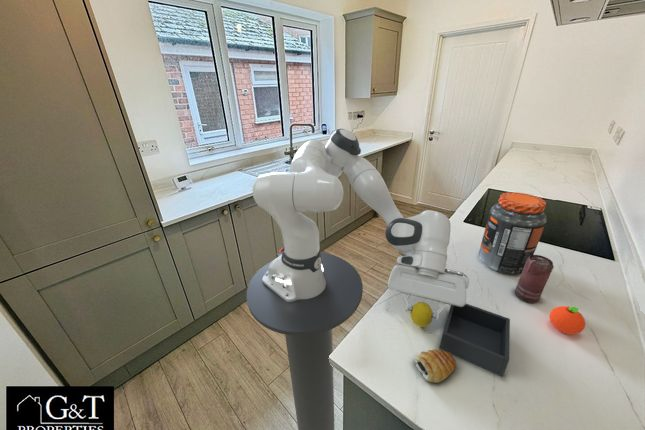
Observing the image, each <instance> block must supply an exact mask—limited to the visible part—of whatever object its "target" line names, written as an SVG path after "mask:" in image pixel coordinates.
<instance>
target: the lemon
mask: <svg viewBox="0 0 645 430" xmlns="http://www.w3.org/2000/svg"><path fill="white" fill-rule="evenodd" d="M432 313H433V310H432V308H431V306H430V305H429V304H428V303H426V302H425V301H424V302H423V301H418V302H416V303H414V304H413V305H412V308H411V312H410V319H411V321H412V323H413V324H414V325H415V326H416V327H419V328H425V327H428V326H429V325H430V324H431V322H432V320H433V318H432V315H433V314H432Z"/></svg>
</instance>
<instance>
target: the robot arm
mask: <svg viewBox="0 0 645 430" xmlns="http://www.w3.org/2000/svg"><path fill="white" fill-rule="evenodd" d="M361 154H362V149H361V147H360V142H359V140H358V137H357V136H356V135H355V134H354V133H353V132H351V131H350V130H348V129H344V128H336V130H334V131H333V133H332V134H331V135H330V138H329V139H328V141H327V143H326V144H324V143H322V141H320V140H317V139H310V140H308V141H306V142H304V143H303V144H302V145H301V146H300V147H299V148H298V150H297V151H296V153H295V155H294V156H293V158H292V161H291V162H290V165H289V172H285V171H284V172H283V171H281V172H280V171H279V172H278V171H276V172H275V171H274V172H270V173H264V174H260V175H259V176H258V177H257V178H256V179H255V180H254V183H253V185H252V196H253V197H252V198H253V200H254V202H255V203H256V206H258V207H259V208H261V209H262V210H264V211H265V212H267V213H268V215H270V216H271V217H272V218H273V220H274V221H275V223H276V224H277V225H278V227H279V230H280V233H281V236H282V241H283V246H282V248H280V249H279V250H278V251H277V252H278V253H276V258H275V259H273V260H271V261H272V262H271V261H270V262H271V264H270V265H269V268H268V271H267V272H266V273H265V274H264V276H263V278H262V282H263V283H264V284H265V285H267V286H268V287H269V288H270V289H272V290H273V291H274V292H275V293H277V294H278V295H279V296H280V297H282V298H283V299H284V300H285V301H287V302H292V301H295V300H300V299H310V298H313V297H316V296H318V295H319V294H321V293H322V292H323V290H324V289H325V287H326V280H325V277H324V274H323V267H322V264H321V260H322V256H321V252H322V246H321V245H320V244H321V243H320V230H319V229H320V228H319V226H318V225H317V223H316V222H315V221H314V220H313V219H312V218H311V217H308V216H306V215H305V214H304V213H325V212H330V211H331V212H332V211H336V210H337V209H338V208H339V207H340V205H341V204H342V203H343V199H344V196H345V195H344V194H345V193H344V186H343V184H342V181H341V180H340V177H341V176H342V174H343V173H344V174H345V175H346V177H347V179H348V181H349V184H350V186H351V188H352V189H353V191H354V193H355V194H356V195H357V196H358V197H359V198H360V199H361V200H362V201H363V202H364V203H365V204H366V205H367V206H369V207H370V208H371V209H372V210H373V211H375V212H376V213H377V214H378V215H379V216H380V217H381V218H382V220H384V222H385V223H386V225H387V226H386V228H385V231H384V232H385V234H384V235H385V239H386V241H387V242H388V243H389V244H390V245H391V246H392V247H393V248H394V249H395V250H396V251H397V252H398V253H399V254H400V256H398V257H397V258H396V265H394V266H393V267H392V269H391V271H390V274H389V277H388V281H387V288H388V289H389V290H390V291H393V292H398V293H401V294H403V299H404V302H405V305H406V306H405V312H407V313H408V312H409V313H411V309H412V307H413V305H411V304H410V303H409V301H408V299H410V296H414V297H418V298H422V299H425V300H430V301H434V302H438V305H437V306H438V307H439V308H438V309H437V310H436V311H434V310H432V320H437V321H438V320H439V317H440V313H442V311H443V310H444V309H445V307H446V305H449V306H451V305H453V306H457V307H463V306H465V305H466V304H467V290H468V288H469V285H470V279H469V277H468V275H466V274H465V273H464V272H462V271H456V270H454V269H449V268H447V262H448V253H447V252H448V247H449V245H450V241H451V221H450V219H449V217H448V216H447V215H446V214H444V213H443V212H441V211H438V210H435V209H426V210H423V211H422V212H421V213H419V214H416V215H413V216H409V217H404V216H403V214H402V213H401V212H400V210H399V209H398V207H397V205H396V203H395V202H394V200H393V197H392V195H391V192H390V190H389V188H388V186H387V184H386V182H385V180H384V178H383V176H382V174H380V172H379V171H378V170H377V168H376V167H375V166H374V165H373V164H372V163H371V162H370V160H368V159H366V158H365V157H363V156H362V157H361V156H360V155H361ZM287 296H288V297H287Z"/></svg>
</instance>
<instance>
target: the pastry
mask: <svg viewBox="0 0 645 430" xmlns="http://www.w3.org/2000/svg"><path fill="white" fill-rule="evenodd" d="M413 361H414V364H415V366H416V368H417V370H418V371H419V372H420V373H421V374H422V377H423V378H424V379H425V380H426V381H428V382H430V383H441V382H443V381H444V380H446V379H447V378H448V377H449V376H451V374H452V373H453V372H454V371H455V370H456V368H457V360H456V359H455V357H454V355H453V354H451V353H449V352H447V351H444V350H442V349H438V350H437V349H432V350H431V349H429V350H427V351H421V352H420V353H419V354H418V355H416V356H414V358H413Z"/></svg>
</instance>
